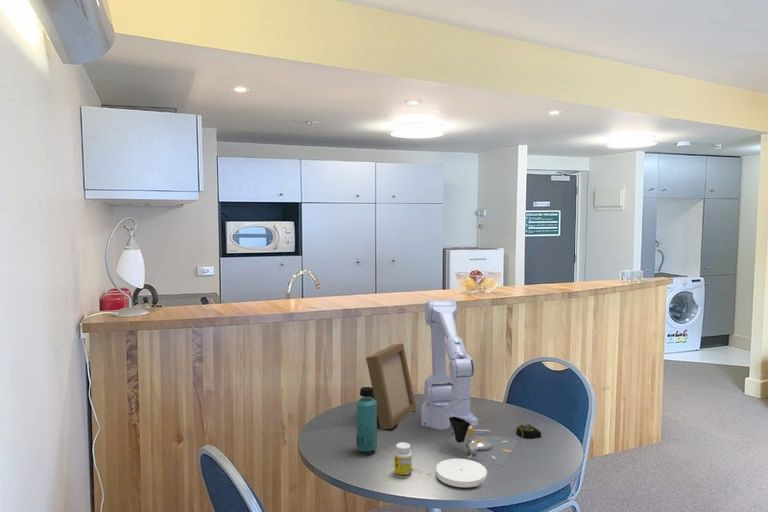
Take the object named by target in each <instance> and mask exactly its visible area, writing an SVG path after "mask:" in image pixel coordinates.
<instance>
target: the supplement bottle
mask: <svg viewBox="0 0 768 512" xmlns="http://www.w3.org/2000/svg"><path fill="white" fill-rule="evenodd" d="M412 459H413V458H412V451H411V444H410V443H407V442H402V441H401V442H398V443H397V444H396V445H395V452H394V475H395V476H396V477H397V478H399V479H406V478H409V477H411V475H412V461H413V460H412Z"/></svg>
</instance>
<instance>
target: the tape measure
mask: <svg viewBox="0 0 768 512" xmlns="http://www.w3.org/2000/svg"><path fill="white" fill-rule="evenodd" d="M515 433H516V435H517V436H518V437H520V438H522V439H527V440H533V439H539V438H542V432H541V431H540V430H539V429H537V428H535V427H534V426H533V425H531V424H529V423H527V424H520V425H518V426H517V427H516V430H515Z"/></svg>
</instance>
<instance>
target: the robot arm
mask: <svg viewBox="0 0 768 512" xmlns="http://www.w3.org/2000/svg"><path fill="white" fill-rule="evenodd" d="M424 305H425V306H424V320H425V325H427V326H429V328H430V329H429V330H430V341H431V343H430V344H431V345H430V346H431V347H430V348H431V364H432V365H431V366H432V368H431V369H432V373H431V375H429V376H428V377H427V378H426V379H425V380H424V389H423V396H424V399H425V400H424V402H423V403H422V405H421V417H420V419H421V421H420V423H421V424H420V426H422V427H428V428H431V429H434V430H447V429H449V428H450V427H451V426H452V430H453V432H454V433H453V435H454V434H455V438H456V441H457V442H458V443H460V442H464V440H465V436H466V433H467V430H468V428H469V426H472V427H476V426H479V418H477V417H476V416H475V415H474V414H473V413H472V411H471V387H472V386H471V383H472V380H471V379H472V378H471V377H473V376H474V374H475V365H474V361H473V358H472V357H471V355H470V354H467V351H466V348H465V344H464V341H463V339H462V338H461V337H459V336H458V331H457V327H456V322H455V321H456V319H457V314H458V305H457V303H456V301H455V300H453V299H451V300H450V299H449V300H429V299H428V300H427V301H426V302H425V304H424ZM446 356H447V357H446ZM447 358H448V370H449V375H448V373H447Z"/></svg>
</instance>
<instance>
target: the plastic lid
mask: <svg viewBox="0 0 768 512" xmlns="http://www.w3.org/2000/svg"><path fill="white" fill-rule="evenodd" d="M435 476H436V479H438V480H439V481H440V482H442V483H443V484H446V485H449V486H452V487H457V488H474V487H478V486H480V485H482V483H483V482H484V481H486V479H487V477H488V470H487V468H486V467H485V466H484V465H483V464H481V463H480V462H478V461H476V460H473V459H469V458H448V459H444V460H442V461H440V462H438V463H437V465H436V466H435Z"/></svg>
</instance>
